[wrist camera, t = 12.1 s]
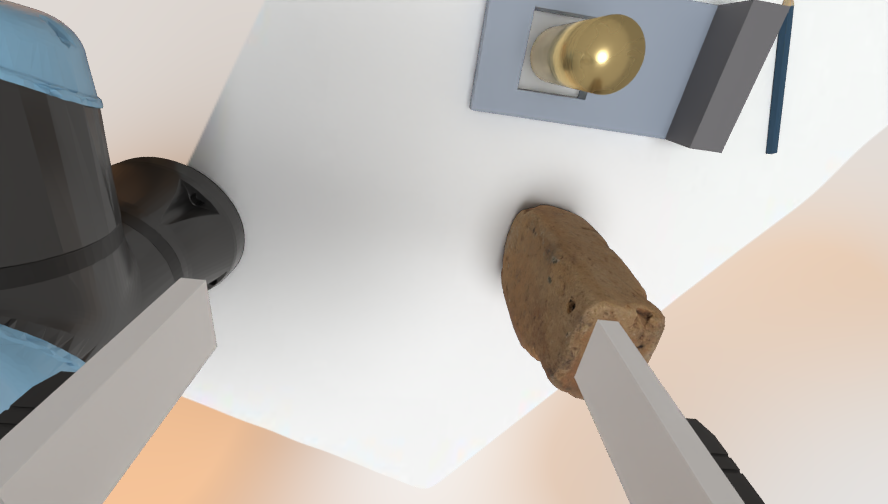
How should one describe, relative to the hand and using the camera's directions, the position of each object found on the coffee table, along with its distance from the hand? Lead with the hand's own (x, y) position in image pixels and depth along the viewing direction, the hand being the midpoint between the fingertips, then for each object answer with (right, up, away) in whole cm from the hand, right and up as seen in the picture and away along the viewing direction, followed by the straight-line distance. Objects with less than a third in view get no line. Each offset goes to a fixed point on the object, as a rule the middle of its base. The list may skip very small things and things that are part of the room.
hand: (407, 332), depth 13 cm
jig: (+15, +20, +22) cm, 34 cm away
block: (+12, +4, +31) cm, 33 cm away
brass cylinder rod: (+11, +21, +22) cm, 32 cm away
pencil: (+33, +20, +24) cm, 45 cm away
